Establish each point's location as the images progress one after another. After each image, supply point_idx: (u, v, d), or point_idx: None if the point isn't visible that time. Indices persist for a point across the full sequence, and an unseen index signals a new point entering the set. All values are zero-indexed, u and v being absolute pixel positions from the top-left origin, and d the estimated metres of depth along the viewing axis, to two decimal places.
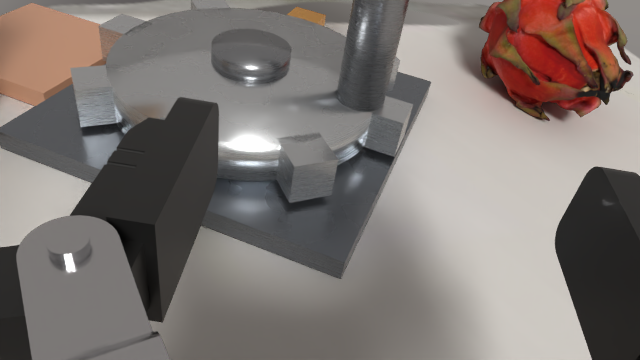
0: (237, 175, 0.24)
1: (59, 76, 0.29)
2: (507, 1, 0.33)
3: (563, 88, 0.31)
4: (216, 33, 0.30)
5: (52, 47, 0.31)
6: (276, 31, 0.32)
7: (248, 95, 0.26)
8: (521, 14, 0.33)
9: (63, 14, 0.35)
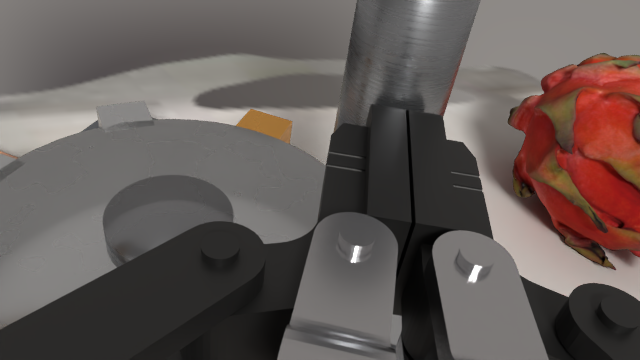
0: None
1: None
2: (555, 104, 0.23)
3: None
4: (124, 174, 0.20)
5: None
6: (217, 161, 0.21)
7: None
8: (576, 125, 0.23)
9: None
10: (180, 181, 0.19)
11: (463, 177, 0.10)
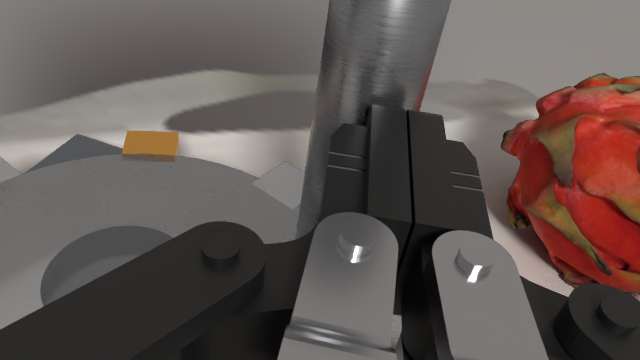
0: None
1: None
2: (552, 133, 0.21)
3: None
4: (26, 247, 0.17)
5: None
6: (124, 198, 0.19)
7: None
8: (575, 157, 0.21)
9: None
10: (108, 235, 0.16)
11: (463, 177, 0.10)
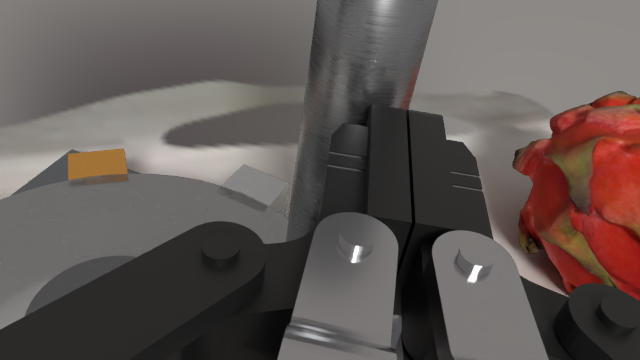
0: None
1: None
2: (568, 155, 0.20)
3: None
4: None
5: None
6: (85, 228, 0.18)
7: None
8: (593, 181, 0.20)
9: None
10: (83, 271, 0.15)
11: (463, 177, 0.10)
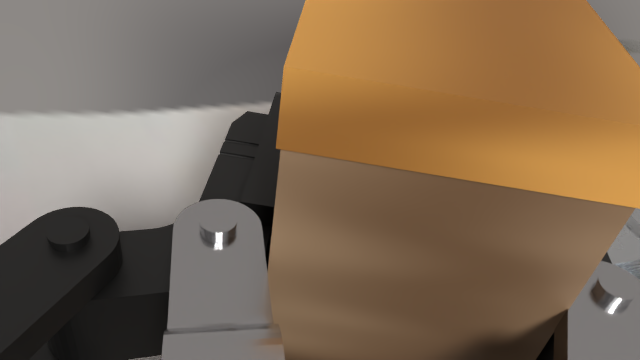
0: None
1: None
2: None
3: None
4: None
5: None
6: None
7: None
8: None
9: None
10: None
11: None
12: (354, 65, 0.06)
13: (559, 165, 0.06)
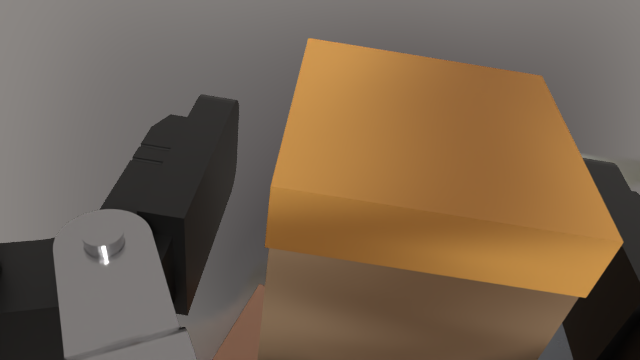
0: None
1: None
2: None
3: None
4: None
5: None
6: None
7: None
8: None
9: None
10: None
11: None
12: (331, 180, 0.06)
13: (510, 263, 0.07)
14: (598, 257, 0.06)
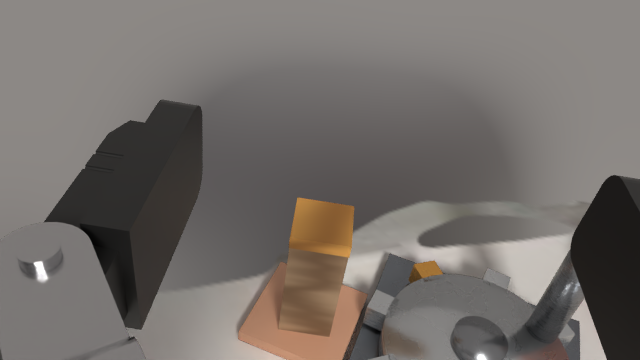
0: None
1: (338, 350, 0.41)
2: None
3: None
4: (427, 332, 0.41)
5: None
6: (442, 301, 0.44)
7: None
8: None
9: None
10: (463, 322, 0.41)
11: None
12: (300, 236, 0.36)
13: (333, 251, 0.36)
14: (348, 249, 0.36)
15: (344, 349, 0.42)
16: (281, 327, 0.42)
